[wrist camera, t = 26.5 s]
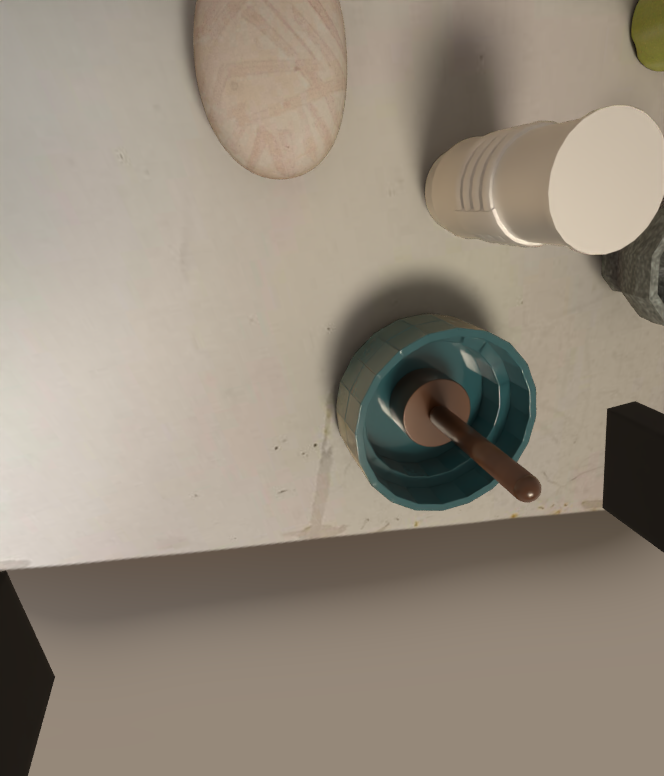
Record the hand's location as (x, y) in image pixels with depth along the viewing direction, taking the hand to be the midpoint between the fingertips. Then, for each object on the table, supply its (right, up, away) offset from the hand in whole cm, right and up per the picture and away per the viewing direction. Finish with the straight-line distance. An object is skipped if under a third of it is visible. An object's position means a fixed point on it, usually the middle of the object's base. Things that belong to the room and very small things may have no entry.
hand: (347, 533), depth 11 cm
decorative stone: (-5, +23, +22) cm, 32 cm away
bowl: (+7, +2, +32) cm, 33 cm away
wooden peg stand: (+7, +2, +32) cm, 33 cm away
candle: (+9, +18, +28) cm, 34 cm away
